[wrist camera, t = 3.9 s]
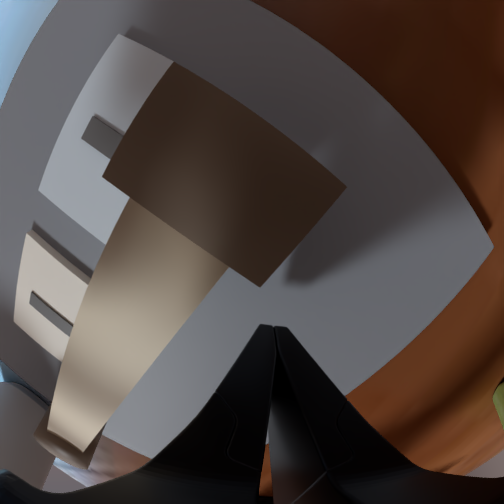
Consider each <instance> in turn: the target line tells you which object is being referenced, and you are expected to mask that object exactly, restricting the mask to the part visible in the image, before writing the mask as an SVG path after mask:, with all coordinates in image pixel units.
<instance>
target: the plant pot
mask: <svg viewBox="0 0 504 504" xmlns="http://www.w3.org/2000/svg"><path fill="white" fill-rule="evenodd" d="M493 402H494V405H495V407H496V410H497V413H498V415H499V418H500V421H501V423H502V426H503V429H504V382H503V383H501V384H500V385H499V386H498V387H497V389H496V391H495V393H494V396H493Z"/></svg>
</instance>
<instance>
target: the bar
mask: <svg viewBox="0 0 504 504" xmlns="http://www.w3.org/2000/svg"><path fill="white" fill-rule="evenodd" d="M102 177H103V178H104V179H105V180H107V181H108V182H109V183H111V184H112V185H113V186H115V187H116V188H118V189H119V190H120V191H122V192H123V193H124V194H126V195H127V196H129V197H130V198H129V200H128V202H127V203H126V205H125V207H124V209H123V211H122V213H121V215H120V217H119V219H118V221H117V223H116V225H115V227H114V229H113V231H112V233H111V235H110V237H109V239H108V241H107V243H106V245H105V248H104V250H103V252H102V254H101V256H100V259H99V261H98V263H97V265H96V268H95V270H94V273H93V275H92V277H91V280H90V282H89V285H88V287H87V290H86V292H85V295H84V297H83V300H82V303H81V305H80V308H79V311H78V314H77V316H76V319H75V322H74V325H73V328H72V331H71V334H70V337H69V341H68V344H67V347H66V350H65V354H64V357H63V361H62V364H61V368H60V372H59V376H58V379H57V384H56V388H55V392H54V396H53V400H52V402H51V404H50V406H49V407H48V409H47V411H46V412H45V414H44V416H43V418H42V419H41V421H40V423H39V425H38V427H37V428H36V430H35V432H34V434H33V436H34V438H35V439H36V440H37V442H38V443H39V444H40V445H41V446H43V447H44V448H45V449H46V450H47V451H49V452H50V453H51V454H53V455H54V456H56V457H57V458H59V459H61V460H62V461H64V462H66V463H68V464H70V465H72V466H75V467H77V468H80V469H88V467H89V465H90V462H91V460H92V457H93V454H94V452H95V449H96V447H97V444H98V442H99V440H100V437H101V435H102V432H103V430H104V428H105V425H106V423H107V421H108V419H109V418H110V417H111V416H112V414H113V413H114V412H115V410H116V409H117V408H118V407H119V405H120V404H121V403H122V402H123V400H124V399H125V398H126V396H127V395H128V394H129V393H130V391H131V390H132V389H133V387H134V386H135V385H136V384H137V382H138V381H139V380H140V379H141V377H142V376H143V375H144V373H145V372H146V371H147V370H148V368H149V367H150V366H151V365H152V363H153V362H154V361H155V359H156V358H157V357H158V356H159V354H160V353H161V352H162V351H163V349H164V348H165V347H166V346H167V344H168V343H169V342H170V341H171V339H172V338H173V337H174V335H175V334H176V333H177V332H178V330H179V329H180V328H181V327H182V325H183V324H184V323H185V322H186V320H187V319H188V318H189V317H190V315H191V314H192V313H193V312H194V310H195V309H196V308H197V307H198V305H199V304H200V303H201V302H202V300H203V299H204V298H205V297H206V295H207V294H208V293H209V292H210V290H211V289H212V288H213V287H214V285H215V284H216V283H217V282H218V280H219V279H220V278H221V277H222V275H223V274H224V273H225V272H226V270H227V269H228V268H229V267H230V268H231V269H233V270H234V271H236V272H237V273H239V274H240V275H242V276H243V277H245V278H246V279H248V280H249V281H251V282H252V283H254V284H255V285H257V286H258V287H261V286H262V285H263V284H264V283H265V282H266V281H267V280H268V278H269V277H270V276H271V275H272V274H273V273H274V272H275V271H276V269H277V268H278V267H279V266H280V265H281V264H282V263H283V262H284V260H285V259H286V258H287V257H288V256H289V255H290V254H291V252H292V251H293V250H294V249H295V248H296V247H297V246H298V244H299V243H300V242H301V241H302V240H303V239H304V237H305V236H306V235H307V234H308V233H309V232H310V231H311V229H312V228H313V227H314V226H315V225H316V224H317V222H318V221H319V220H320V219H321V218H322V217H323V215H324V214H325V213H326V212H327V211H328V209H329V208H330V207H331V206H332V205H333V204H334V202H335V201H336V200H337V199H338V198H339V196H340V195H341V194H342V193H343V192H344V190H345V189H346V188H347V186H346V185H345V184H344V183H342V182H341V181H340V180H339V179H338V178H337V177H336V176H335V175H333V174H332V173H331V172H330V171H329V170H328V169H326V168H325V167H324V166H323V165H322V164H321V163H319V162H318V161H317V160H316V159H315V158H313V157H312V156H311V155H310V154H308V153H307V152H306V151H305V150H304V149H302V148H301V147H300V146H299V145H297V144H296V143H295V142H293V141H292V140H291V139H290V138H288V137H287V136H286V135H284V134H283V133H282V132H281V131H279V130H278V129H277V128H275V127H274V126H273V125H271V124H270V123H268V122H267V121H266V120H264V119H263V118H262V117H260V116H259V115H257V114H256V113H255V112H253V111H252V110H250V109H249V108H247V107H246V106H245V105H243V104H242V103H240V102H239V101H237V100H236V99H234V98H233V97H231V96H230V95H228V94H227V93H225V92H224V91H222V90H220V89H219V88H217V87H216V86H214V85H213V84H211V83H209V82H208V81H206V80H205V79H203V78H201V77H200V76H198V75H196V74H195V73H193V72H191V71H190V70H188V69H186V68H184V67H183V66H181V65H179V64H177V63H176V62H173V63H172V64H171V65H170V67H169V68H168V69H167V71H166V72H165V73H164V75H163V76H162V78H161V79H160V80H159V82H158V83H157V85H156V86H155V87H154V89H153V90H152V92H151V93H150V95H149V96H148V98H147V99H146V101H145V102H144V104H143V105H142V107H141V108H140V110H139V111H138V113H137V115H136V116H135V118H134V119H133V121H132V123H131V124H130V126H129V128H128V129H127V131H126V133H125V134H124V136H123V138H122V140H121V141H120V143H119V145H118V147H117V149H116V150H115V152H114V154H113V156H112V158H111V160H110V162H109V163H108V165H107V167H106V169H105V171H104V173H103V175H102Z"/></svg>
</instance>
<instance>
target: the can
mask: <svg viewBox="0 0 504 504" xmlns="http://www.w3.org/2000/svg"><path fill="white" fill-rule="evenodd" d="M48 407H49V406H48V405H47V404H46V403H45V402H43V401H42V400H41V399H40V398H39V397H38V396H36V395H35V394H34V393H32V392H31V391H30V390H28V389H27V388H25V387H24V386H22V385H20V384H18V383H15V382H11V383H9V382H0V470H2V469H7V470H9V471H11V472H12V473H14V474H15V475H17V476H19V477H20V478H22V479H23V480H25V481H26V482H28V483H29V484H31V485H33V486H34V487H36V488H38V489H40V490H42V488H43V485H44V483H45V481H46V478H47V476H48V474H49V471H50V469H51V467H52V465H53V462H54V460H55V458H56V456H54V455H53V454H51V453H50V452H49V451H47V450H46V449H45V448H44V447H43V446H41V445H40V444H39V443H38V442H37V440H36V439H35V438H34V436H33V434H34V432H35V430H36V428H37V427H38V425H39V423H40V421H41V419H42V418H43V416H44V414H45V412H46V411H47V409H48Z"/></svg>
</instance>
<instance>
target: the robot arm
mask: <svg viewBox="0 0 504 504" xmlns="http://www.w3.org/2000/svg"><path fill="white" fill-rule="evenodd" d="M267 431H268V437H269V450H270V462H271V475H272V488H273V498H266V497H261V498H259V486H260V478H261V472H262V465H263V459H264V452H265V445H266V438H267ZM0 504H504V477H499V478H480V477H469V476H461V475H453V474H446V473H440V472H434V471H429V470H426V469H423V468H421V467H419V466H417V465H415V464H414V463H412V462H411V461H410V460H408V459H407V458H406V457H405V456H404V455H403V454H402V453H400V452H399V451H398V450H397V449H396V448H395V447H394V446H393V445H391V444H390V443H389V442H388V441H387V440H386V439H385V438H384V437H383V436H382V435H380V434H379V433H378V432H377V431H376V430H375V429H374V428H373V427H372V426H371V425H370V424H369V423H368V422H367V421H366V420H365V419H364V418H363V417H362V415H361V414H360V413H359V412H358V411H357V410H356V409H355V408H354V406H353V405H352V404H351V403H350V402H349V401H347V398H346V397H345V396H344V395H343V394H342V392H341V391H340V390H339V389H338V388H337V386H336V385H335V384H334V383H333V382H332V380H331V379H330V378H329V377H328V376H327V374H326V373H325V372H324V371H323V370H322V368H321V367H320V366H319V365H318V364H317V362H316V361H315V360H314V359H313V358H312V356H311V355H310V354H309V353H308V352H307V350H306V349H305V348H304V347H303V345H302V344H301V343H300V342H299V341H298V339H297V338H296V337H295V336H294V334H293V333H292V332H291V331H290V330H289V328H288V327H285V326H274V327H273V326H272V325H267V324H259V325H258V327H257V329H256V330H255V332H254V333H253V335H252V336H251V338H250V339H249V341H248V342H247V344H246V346H245V347H244V349H243V350H242V352H241V353H240V355H239V356H238V358H237V359H236V361H235V362H234V364H233V365H232V367H231V368H230V370H229V371H228V373H227V374H226V376H225V377H224V379H223V380H222V381H221V383H220V384H219V386H218V387H217V389H216V390H215V392H214V393H213V394H212V396H211V397H210V399H209V400H208V401H207V403H206V404H205V405H204V407H203V408H202V409H201V411H200V412H199V413H198V414H197V415H196V417H195V418H194V419H193V420H192V421H191V422H190V423H189V424H188V425H187V426H186V427H185V428H184V429H183V430H182V431H181V432H180V433H179V434H178V435H177V436H176V437H175V438H174V439H173V440H172V441H171V442H170V443H169V444H168V445H167V446H166V447H164V448H163V449H162V450H161V451H160V452H159V453H158V454H157V455H156V456H155V457H154V458H152V459H151V460H150V461H149V462H147V463H146V464H145V465H143V466H142V467H140V468H139V469H137V470H135V471H133V472H131V473H128V474H126V475H123V476H120V477H117V478H115V479H112V480H109V481H106V482H103V483H100V484H97V485H94V486H90V487H87V488H84V489H80V490H76V491H73V492H68V493H51V492H47V491H43V490H40V489H38V488H36V487H34V486H33V485H31V484H29V483H28V482H26V481H25V480H23V479H22V478H20V477H19V476H17V475H15V474H14V473H12V472H11V471H9V470H7V469H2V470H0Z"/></svg>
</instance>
